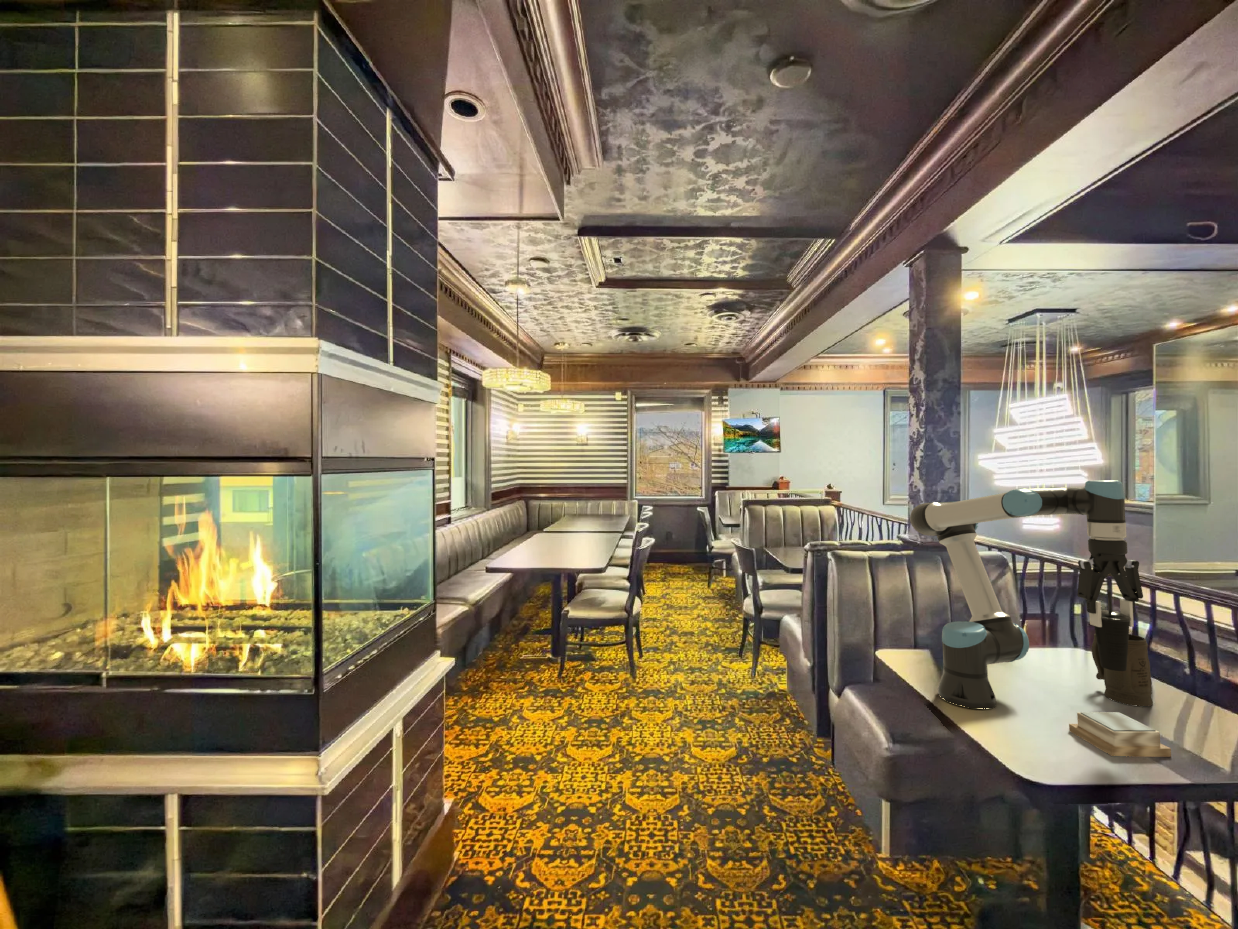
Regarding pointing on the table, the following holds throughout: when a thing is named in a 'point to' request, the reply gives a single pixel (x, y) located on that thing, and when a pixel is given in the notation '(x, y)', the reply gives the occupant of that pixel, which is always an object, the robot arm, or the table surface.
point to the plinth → (1120, 749)
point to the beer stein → (1128, 674)
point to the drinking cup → (1113, 638)
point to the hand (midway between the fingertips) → (1111, 625)
